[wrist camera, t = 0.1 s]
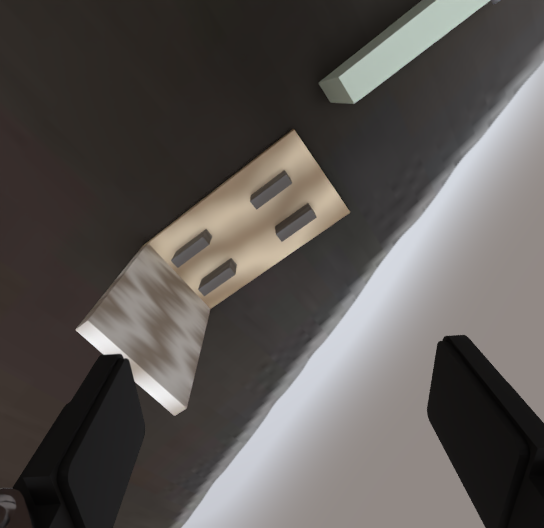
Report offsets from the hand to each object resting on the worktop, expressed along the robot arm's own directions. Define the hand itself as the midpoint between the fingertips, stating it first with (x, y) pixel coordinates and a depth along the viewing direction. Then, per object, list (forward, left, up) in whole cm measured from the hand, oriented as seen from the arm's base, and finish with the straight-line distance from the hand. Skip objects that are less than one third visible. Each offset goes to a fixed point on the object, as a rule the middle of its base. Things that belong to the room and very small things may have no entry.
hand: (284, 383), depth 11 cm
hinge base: (+4, -7, -37) cm, 38 cm away
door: (-3, +19, -37) cm, 42 cm away
